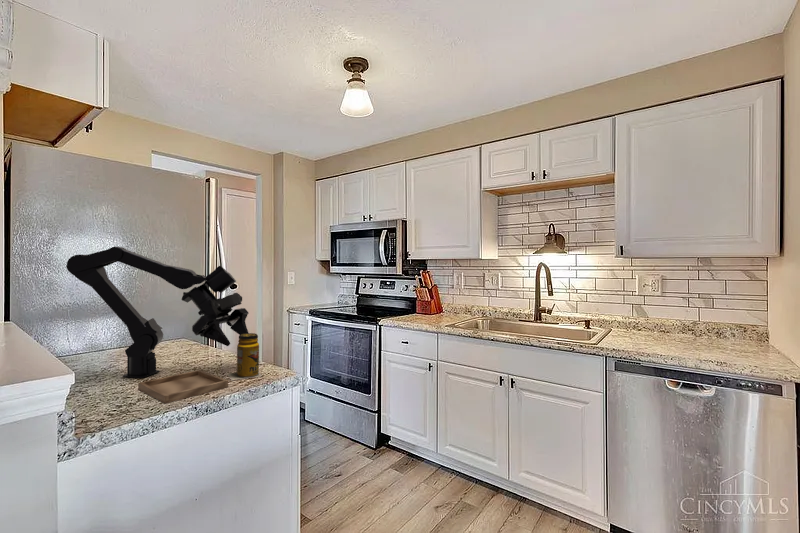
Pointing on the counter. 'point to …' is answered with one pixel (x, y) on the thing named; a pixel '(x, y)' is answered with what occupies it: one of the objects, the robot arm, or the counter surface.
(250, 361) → the condiment
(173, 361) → the counter surface
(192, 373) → the tray
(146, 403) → the counter surface
